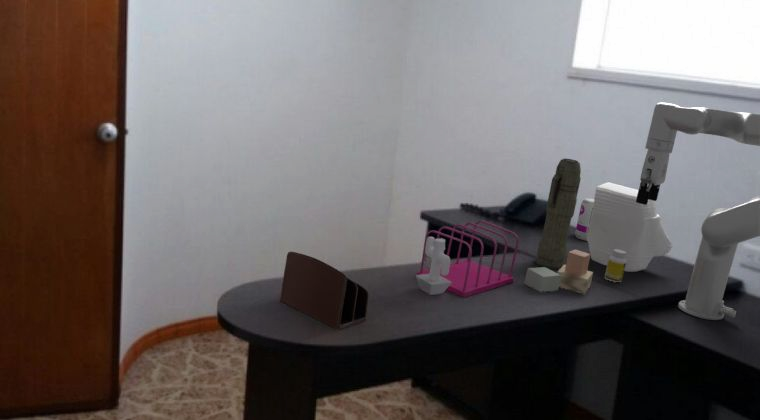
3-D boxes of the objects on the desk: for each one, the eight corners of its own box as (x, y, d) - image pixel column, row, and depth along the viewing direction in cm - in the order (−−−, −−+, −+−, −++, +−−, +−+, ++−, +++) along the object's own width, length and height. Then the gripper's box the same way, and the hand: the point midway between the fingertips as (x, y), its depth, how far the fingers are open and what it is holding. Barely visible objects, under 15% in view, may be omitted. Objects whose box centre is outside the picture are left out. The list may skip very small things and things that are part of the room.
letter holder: (337, 331, 173) (345, 273, 169) (279, 301, 185) (285, 247, 181) (366, 321, 180) (374, 266, 177) (308, 294, 192) (314, 241, 189)
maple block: (589, 287, 231) (593, 272, 229) (584, 295, 223) (587, 279, 221) (560, 279, 234) (564, 264, 233) (554, 287, 226) (557, 271, 225)
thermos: (527, 261, 246) (548, 157, 237) (548, 257, 254) (569, 156, 245) (549, 270, 240) (571, 164, 231) (570, 266, 248) (592, 163, 239)
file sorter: (513, 283, 224) (523, 233, 220) (463, 298, 205) (473, 243, 201) (466, 264, 235) (475, 216, 231) (415, 277, 216) (423, 225, 212)
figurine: (432, 299, 201) (441, 245, 197) (410, 286, 208) (419, 234, 204) (452, 296, 205) (461, 244, 201) (431, 283, 212) (439, 233, 209)
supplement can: (573, 238, 284) (582, 200, 280) (575, 233, 292) (583, 196, 288) (595, 243, 282) (604, 204, 278) (596, 238, 289) (604, 200, 286)
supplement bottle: (622, 284, 237) (629, 255, 235) (604, 280, 238) (611, 251, 236) (620, 279, 242) (627, 250, 240) (603, 275, 243) (610, 247, 241)
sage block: (557, 291, 222) (561, 275, 221) (540, 292, 219) (543, 276, 217) (541, 282, 228) (544, 267, 227) (524, 284, 224) (527, 268, 223)
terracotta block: (586, 272, 228) (590, 254, 226) (580, 276, 224) (584, 257, 222) (571, 267, 230) (575, 249, 229) (564, 270, 226) (568, 252, 225)
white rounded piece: (597, 249, 274) (613, 180, 267) (667, 274, 255) (685, 201, 249) (565, 256, 259) (581, 183, 253) (637, 282, 241) (655, 205, 234)
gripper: (664, 150, 212) (650, 208, 216) (680, 146, 226) (666, 201, 230) (637, 144, 216) (624, 201, 220) (655, 141, 230) (642, 195, 234)
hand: (646, 201), depth 225 cm, fingers open, 9 cm apart
